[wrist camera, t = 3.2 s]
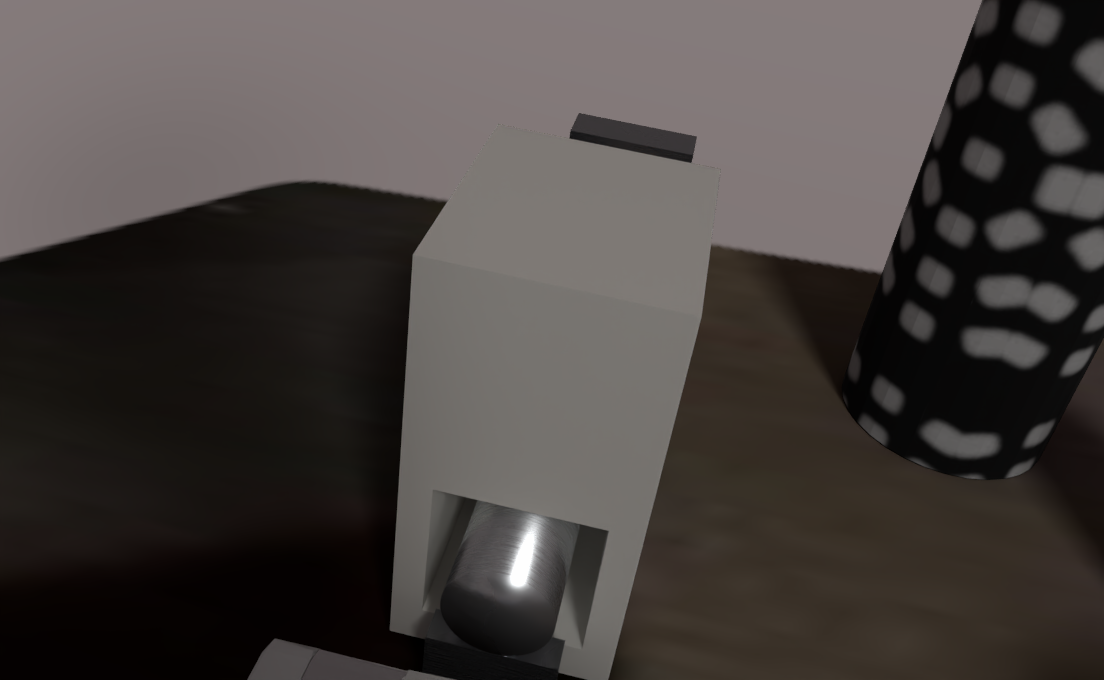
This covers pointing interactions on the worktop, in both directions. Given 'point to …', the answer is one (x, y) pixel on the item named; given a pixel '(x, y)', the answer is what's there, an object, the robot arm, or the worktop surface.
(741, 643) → the worktop surface
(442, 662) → the pipe
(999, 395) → the white-spotted black cylinder
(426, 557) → the notched block
